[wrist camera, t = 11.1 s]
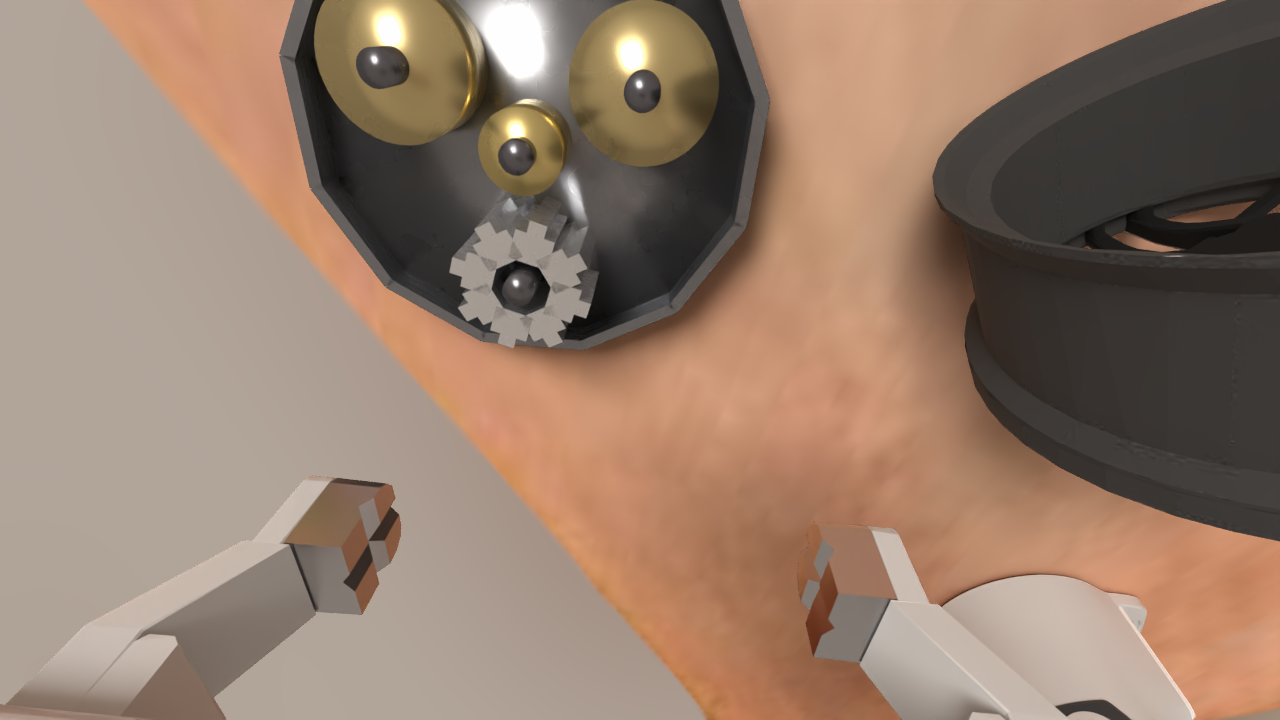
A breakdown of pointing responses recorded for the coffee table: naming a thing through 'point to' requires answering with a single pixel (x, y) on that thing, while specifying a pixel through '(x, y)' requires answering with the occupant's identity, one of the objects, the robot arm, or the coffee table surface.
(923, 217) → the coffee table surface
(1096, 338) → the wheel rim
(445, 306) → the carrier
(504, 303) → the planet gear
